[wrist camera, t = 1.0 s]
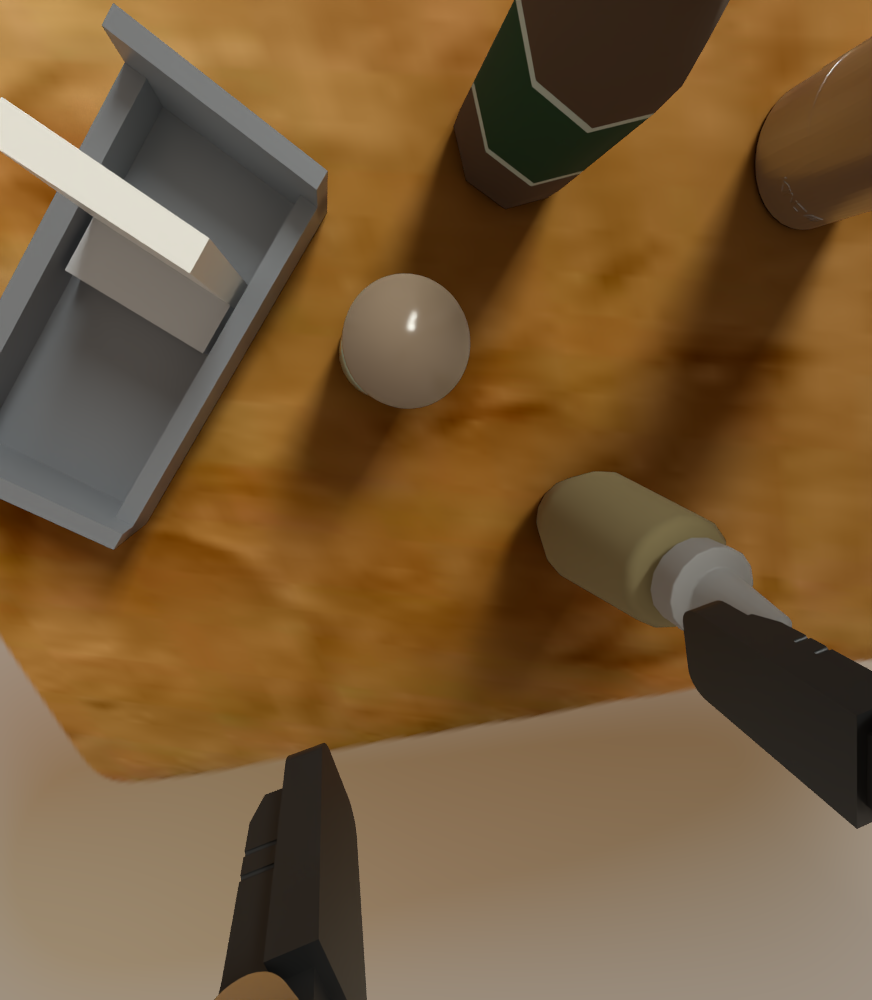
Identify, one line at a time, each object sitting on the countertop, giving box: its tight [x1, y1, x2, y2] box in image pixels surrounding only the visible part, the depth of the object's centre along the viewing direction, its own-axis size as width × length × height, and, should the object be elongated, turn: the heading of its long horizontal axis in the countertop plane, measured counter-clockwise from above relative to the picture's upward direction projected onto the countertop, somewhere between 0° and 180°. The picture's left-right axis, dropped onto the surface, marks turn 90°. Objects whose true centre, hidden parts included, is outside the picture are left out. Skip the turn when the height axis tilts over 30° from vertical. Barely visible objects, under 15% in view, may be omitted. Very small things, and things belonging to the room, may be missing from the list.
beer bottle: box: [454, 0, 729, 209], centre depth 19 cm, size 8×8×24 cm
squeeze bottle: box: [536, 471, 792, 630], centre depth 29 cm, size 8×8×18 cm
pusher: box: [0, 97, 248, 355], centre depth 22 cm, size 4×7×10 cm, turn 57°
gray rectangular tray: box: [0, 3, 328, 550], centre depth 26 cm, size 22×10×6 cm, turn 147°
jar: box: [339, 273, 470, 409], centre depth 27 cm, size 6×6×10 cm
